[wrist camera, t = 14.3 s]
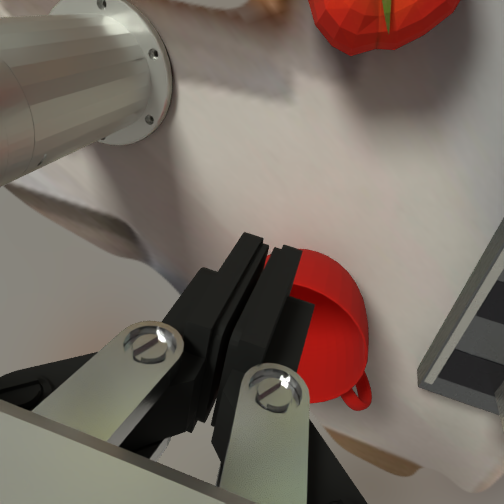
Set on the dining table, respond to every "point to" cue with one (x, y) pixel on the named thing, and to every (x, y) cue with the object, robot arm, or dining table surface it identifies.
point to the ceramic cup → (333, 332)
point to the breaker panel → (472, 339)
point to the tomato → (377, 22)
